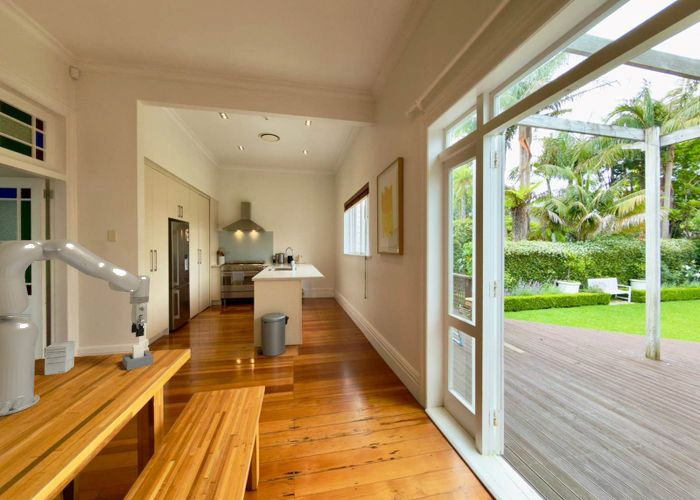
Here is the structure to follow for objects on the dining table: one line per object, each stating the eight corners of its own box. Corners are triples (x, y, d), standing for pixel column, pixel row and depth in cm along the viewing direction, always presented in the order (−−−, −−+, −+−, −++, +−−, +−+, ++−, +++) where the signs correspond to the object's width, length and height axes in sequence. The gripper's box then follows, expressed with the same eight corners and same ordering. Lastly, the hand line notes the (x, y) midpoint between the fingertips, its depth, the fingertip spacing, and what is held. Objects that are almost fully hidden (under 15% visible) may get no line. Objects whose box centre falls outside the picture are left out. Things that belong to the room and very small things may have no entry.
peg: (143, 363, 132) (144, 345, 132) (133, 366, 129) (133, 347, 129) (141, 361, 135) (142, 343, 135) (131, 363, 132) (132, 345, 132)
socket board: (153, 364, 132) (153, 356, 132) (127, 370, 124) (127, 362, 124) (147, 357, 139) (147, 350, 139) (122, 363, 132) (122, 355, 132)
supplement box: (53, 369, 124) (54, 342, 124) (74, 366, 127) (75, 340, 127) (43, 375, 117) (44, 347, 118) (65, 372, 121) (66, 345, 121)
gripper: (153, 301, 129) (151, 336, 129) (144, 297, 141) (142, 329, 140) (133, 303, 124) (131, 339, 123) (126, 298, 135) (124, 332, 134)
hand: (137, 334), depth 131 cm, fingers open, 9 cm apart
